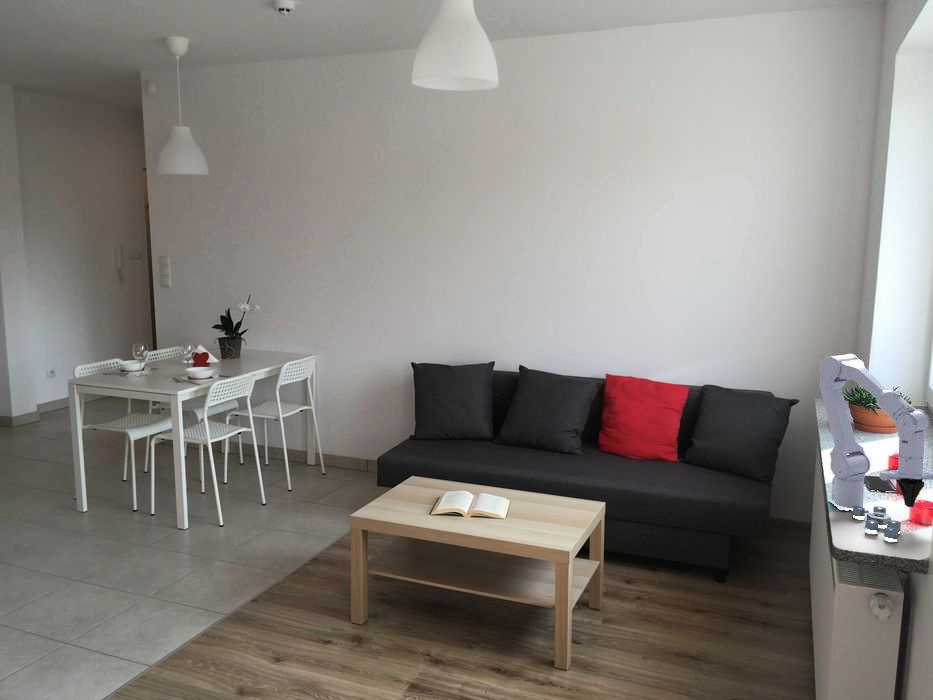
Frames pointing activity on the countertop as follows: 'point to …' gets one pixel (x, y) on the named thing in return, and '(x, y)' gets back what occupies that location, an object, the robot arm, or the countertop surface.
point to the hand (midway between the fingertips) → (909, 506)
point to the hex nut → (879, 517)
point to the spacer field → (891, 528)
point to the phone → (878, 483)
